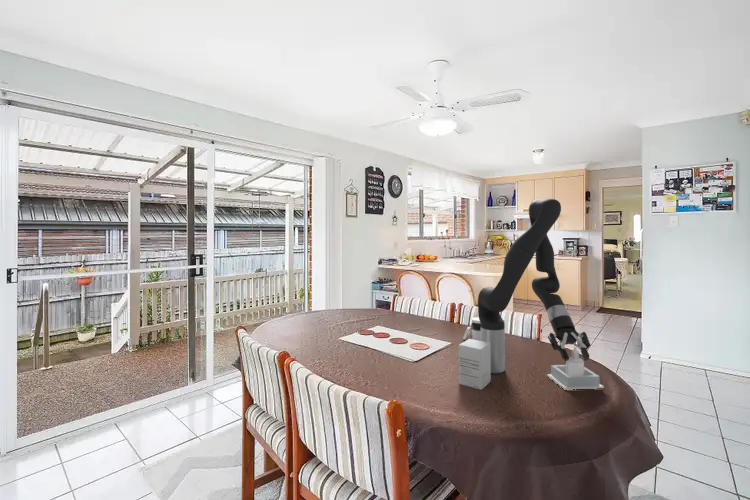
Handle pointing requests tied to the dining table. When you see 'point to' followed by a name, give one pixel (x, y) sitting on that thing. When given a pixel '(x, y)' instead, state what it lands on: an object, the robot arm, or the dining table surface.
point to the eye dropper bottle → (575, 364)
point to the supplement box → (474, 363)
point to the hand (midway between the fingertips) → (577, 359)
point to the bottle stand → (574, 379)
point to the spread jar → (474, 330)
